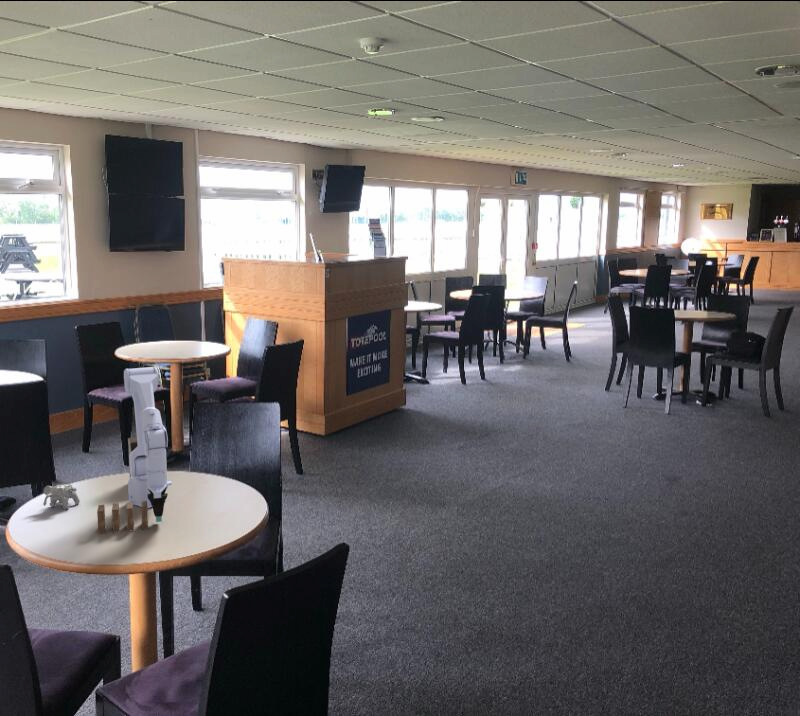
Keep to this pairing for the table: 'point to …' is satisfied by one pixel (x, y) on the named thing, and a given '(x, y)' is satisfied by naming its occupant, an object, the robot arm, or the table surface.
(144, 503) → the domino
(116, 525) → the domino
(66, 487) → the gray elephant figurine
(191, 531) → the table surface
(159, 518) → the teal domino
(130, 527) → the domino
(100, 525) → the domino
